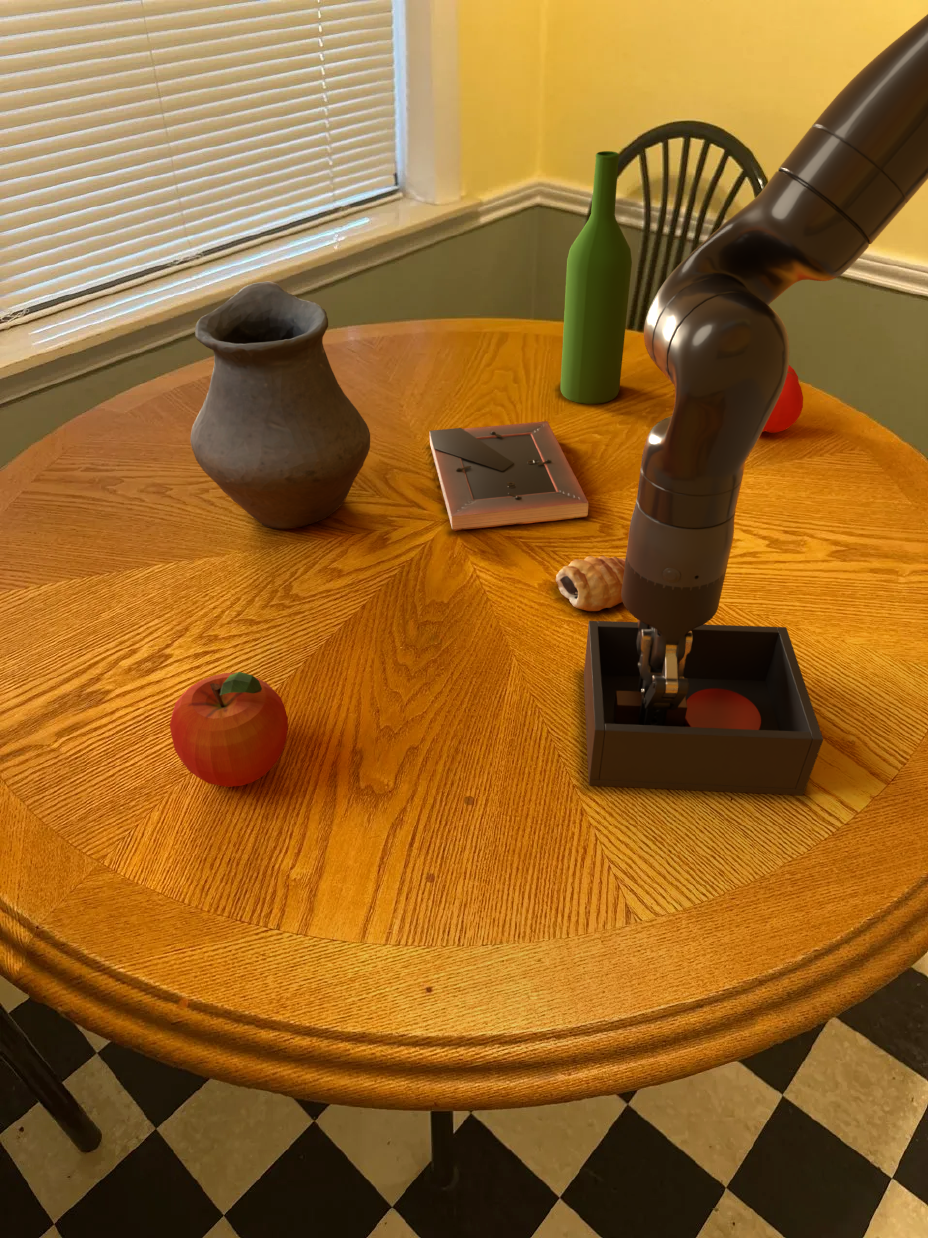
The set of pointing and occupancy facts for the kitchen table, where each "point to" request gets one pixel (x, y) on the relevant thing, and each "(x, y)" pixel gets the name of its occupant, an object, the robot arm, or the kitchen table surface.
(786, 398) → the tomato
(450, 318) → the kitchen table surface
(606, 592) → the pastry
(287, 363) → the grey clay vase
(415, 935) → the kitchen table surface
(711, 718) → the paddle
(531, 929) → the kitchen table surface
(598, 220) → the wine bottle
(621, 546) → the kitchen table surface
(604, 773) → the bin
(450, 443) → the picture frame
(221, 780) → the fruit
